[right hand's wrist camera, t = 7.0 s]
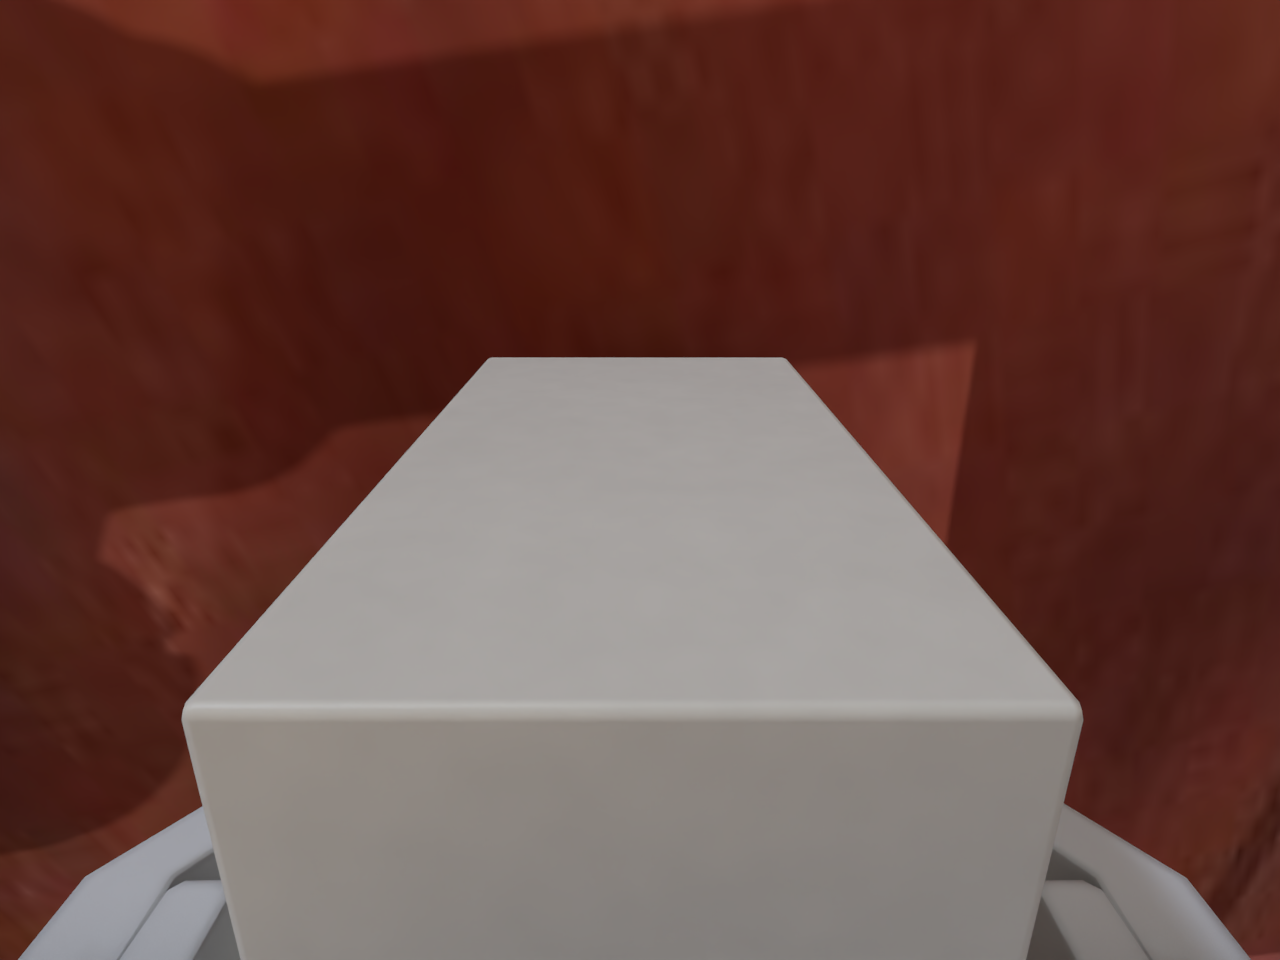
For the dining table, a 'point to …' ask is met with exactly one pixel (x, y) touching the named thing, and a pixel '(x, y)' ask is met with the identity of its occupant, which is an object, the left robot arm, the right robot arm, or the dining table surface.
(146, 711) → the dining table surface
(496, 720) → the bar
